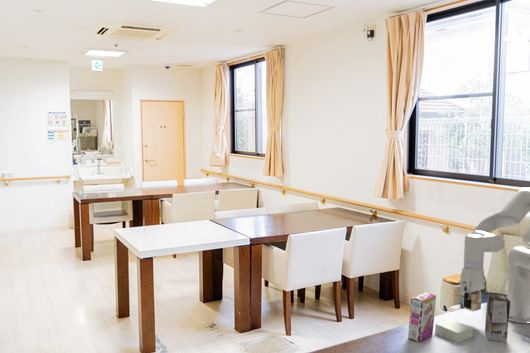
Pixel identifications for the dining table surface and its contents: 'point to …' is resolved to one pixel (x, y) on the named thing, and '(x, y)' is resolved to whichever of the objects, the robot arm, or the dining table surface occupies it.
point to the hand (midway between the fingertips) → (471, 306)
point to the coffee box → (497, 317)
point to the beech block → (474, 301)
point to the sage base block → (454, 330)
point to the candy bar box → (421, 316)
